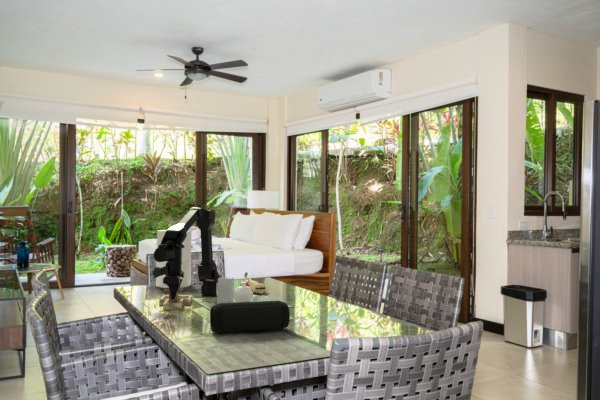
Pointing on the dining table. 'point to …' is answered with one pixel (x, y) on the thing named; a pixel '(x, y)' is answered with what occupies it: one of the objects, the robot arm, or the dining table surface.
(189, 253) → the cylinder
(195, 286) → the dining table surface
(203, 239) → the robot arm
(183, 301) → the keyhole cradle
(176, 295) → the tan brick
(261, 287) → the cat figure
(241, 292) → the white vase
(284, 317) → the portable speaker
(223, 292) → the skincare box
